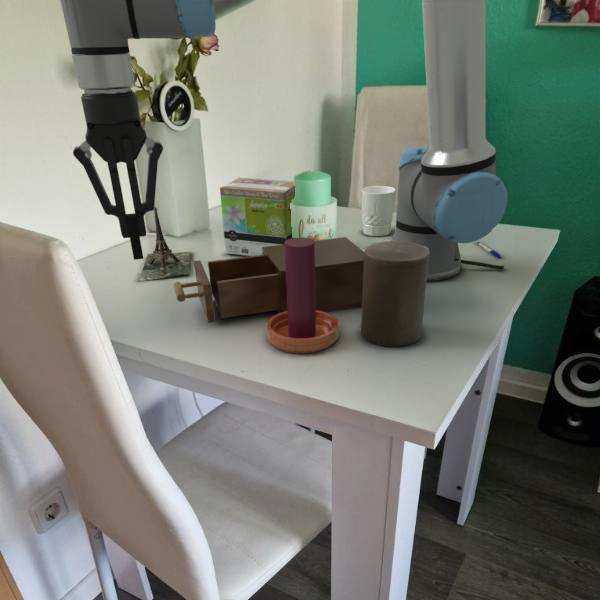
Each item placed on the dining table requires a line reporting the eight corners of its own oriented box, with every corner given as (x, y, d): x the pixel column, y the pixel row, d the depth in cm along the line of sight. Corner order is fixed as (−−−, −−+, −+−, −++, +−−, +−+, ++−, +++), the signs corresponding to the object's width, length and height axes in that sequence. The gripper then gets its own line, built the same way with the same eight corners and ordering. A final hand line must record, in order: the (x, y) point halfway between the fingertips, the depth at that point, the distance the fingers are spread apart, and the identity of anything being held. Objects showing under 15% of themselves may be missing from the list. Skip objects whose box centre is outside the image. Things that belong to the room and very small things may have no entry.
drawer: (182, 326, 92) (176, 288, 89) (175, 299, 102) (169, 264, 98) (296, 310, 97) (295, 273, 93) (278, 285, 106) (277, 250, 103)
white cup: (395, 236, 132) (397, 193, 127) (361, 237, 132) (363, 194, 127) (390, 227, 139) (393, 185, 133) (359, 228, 139) (360, 186, 133)
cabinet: (282, 318, 96) (280, 271, 91) (264, 290, 107) (261, 247, 102) (371, 305, 100) (373, 259, 95) (345, 279, 110) (345, 236, 106)
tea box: (224, 255, 124) (217, 186, 116) (243, 242, 132) (238, 176, 124) (287, 261, 120) (284, 190, 112) (303, 247, 128) (301, 179, 119)
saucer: (325, 318, 95) (325, 304, 94) (348, 348, 86) (348, 333, 85) (260, 328, 93) (259, 314, 92) (277, 359, 84) (276, 345, 82)
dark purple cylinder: (311, 326, 91) (309, 235, 83) (319, 338, 88) (318, 244, 80) (285, 330, 90) (281, 239, 82) (292, 342, 87) (288, 248, 79)
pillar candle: (380, 352, 85) (386, 256, 76) (350, 327, 92) (352, 237, 84) (434, 339, 88) (445, 245, 80) (400, 316, 95) (407, 228, 87)
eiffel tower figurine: (189, 277, 114) (180, 210, 106) (139, 280, 113) (126, 213, 105) (191, 253, 126) (183, 192, 119) (146, 256, 125) (134, 195, 118)
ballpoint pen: (502, 259, 118) (502, 254, 117) (498, 259, 118) (499, 255, 117) (479, 244, 127) (479, 239, 126) (475, 244, 127) (476, 240, 126)
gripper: (153, 87, 82) (176, 245, 95) (60, 90, 79) (96, 253, 92) (157, 90, 76) (181, 259, 89) (56, 95, 73) (96, 268, 86)
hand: (138, 256), depth 90 cm, fingers closed
